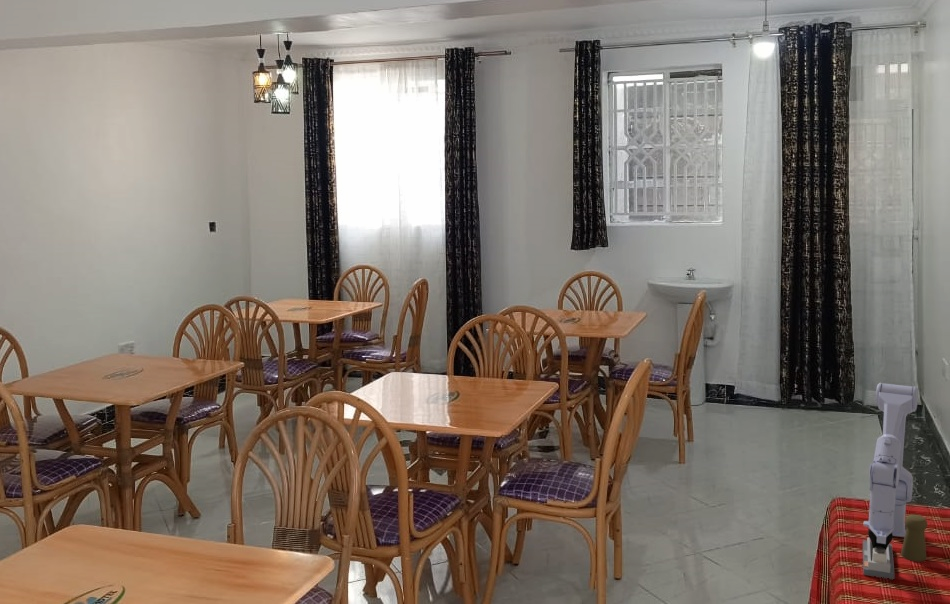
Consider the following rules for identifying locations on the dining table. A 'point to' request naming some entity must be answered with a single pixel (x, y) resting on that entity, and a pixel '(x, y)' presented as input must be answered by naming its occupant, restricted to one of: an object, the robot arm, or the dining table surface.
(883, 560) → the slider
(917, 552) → the brown tall tapered piece
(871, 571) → the board
